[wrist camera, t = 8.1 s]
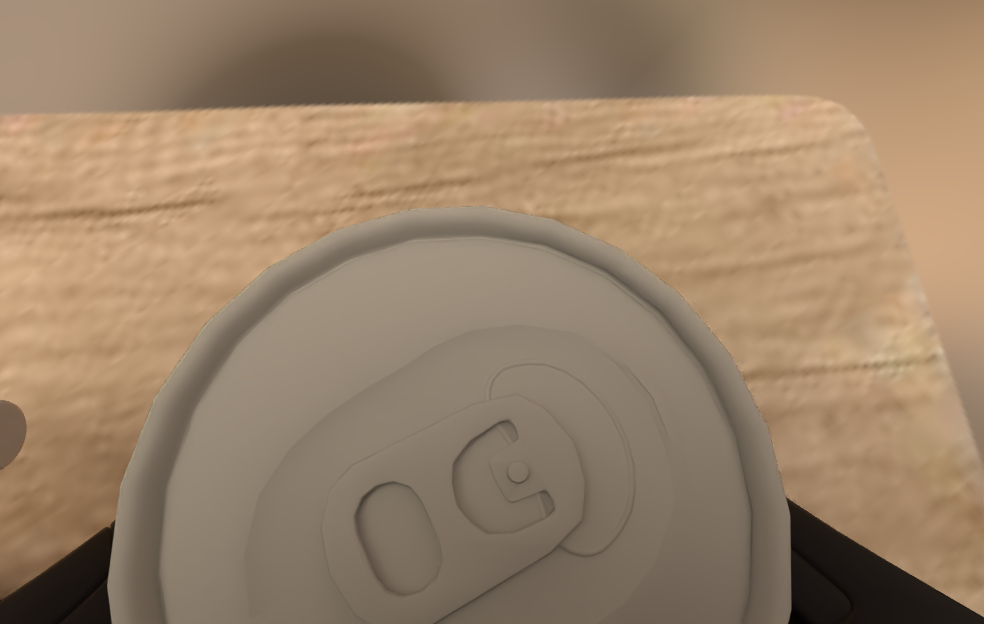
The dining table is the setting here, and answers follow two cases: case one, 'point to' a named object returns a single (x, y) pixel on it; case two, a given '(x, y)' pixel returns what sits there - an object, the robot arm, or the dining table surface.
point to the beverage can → (453, 444)
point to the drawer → (11, 432)
